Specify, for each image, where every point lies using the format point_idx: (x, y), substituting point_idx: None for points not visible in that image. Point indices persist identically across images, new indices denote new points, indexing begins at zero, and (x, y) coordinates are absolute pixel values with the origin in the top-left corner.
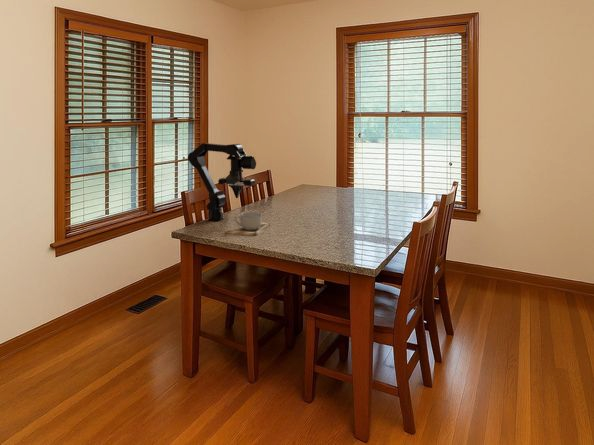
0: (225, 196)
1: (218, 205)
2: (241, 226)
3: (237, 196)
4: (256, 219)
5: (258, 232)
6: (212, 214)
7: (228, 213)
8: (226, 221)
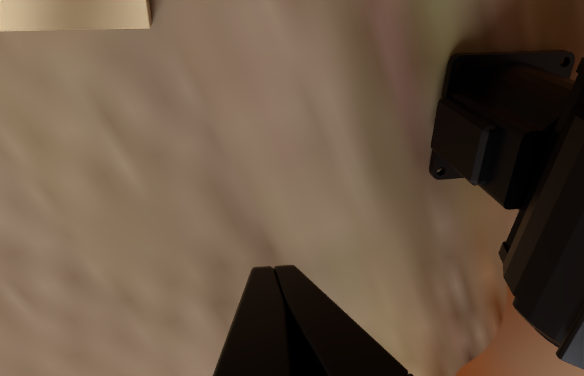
0: (564, 357)
1: (577, 111)
2: None
3: (245, 292)
4: None
5: None
6: (563, 78)
7: (435, 351)
8: (362, 83)
